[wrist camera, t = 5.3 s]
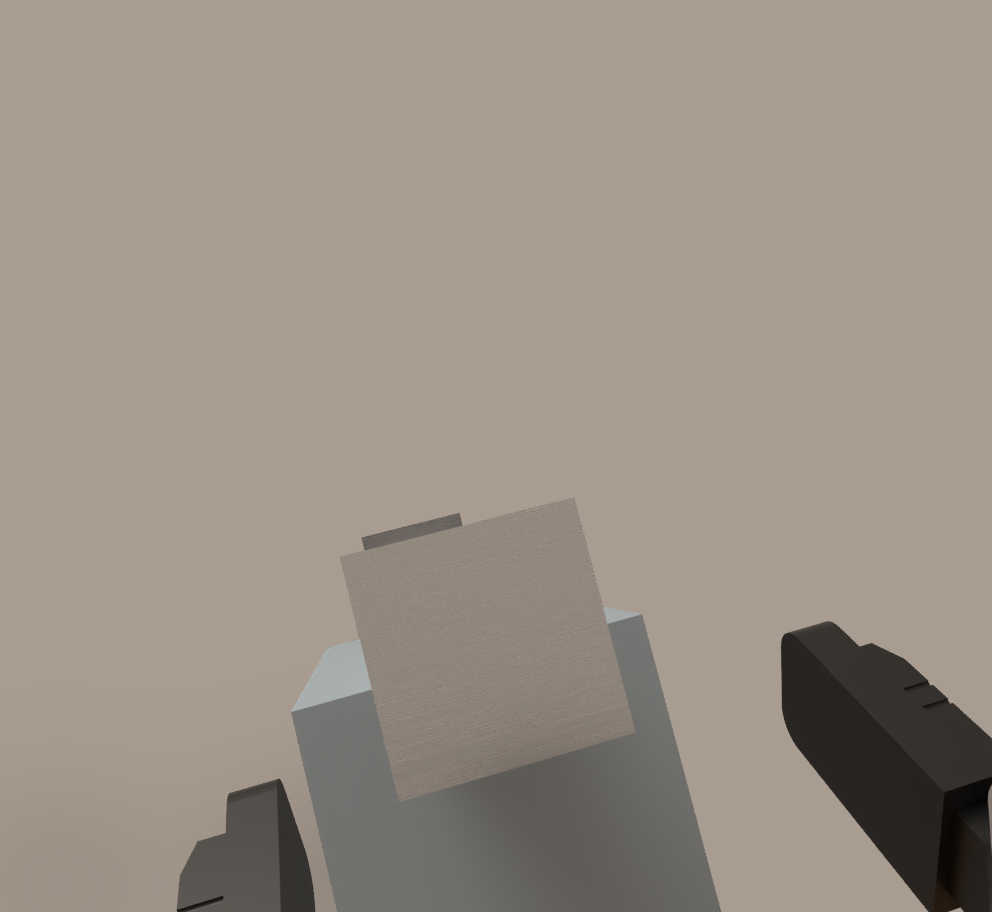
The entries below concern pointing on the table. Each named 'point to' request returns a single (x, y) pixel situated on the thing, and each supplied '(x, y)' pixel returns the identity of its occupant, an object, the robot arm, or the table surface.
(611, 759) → the stand
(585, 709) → the shaft
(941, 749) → the robot arm
